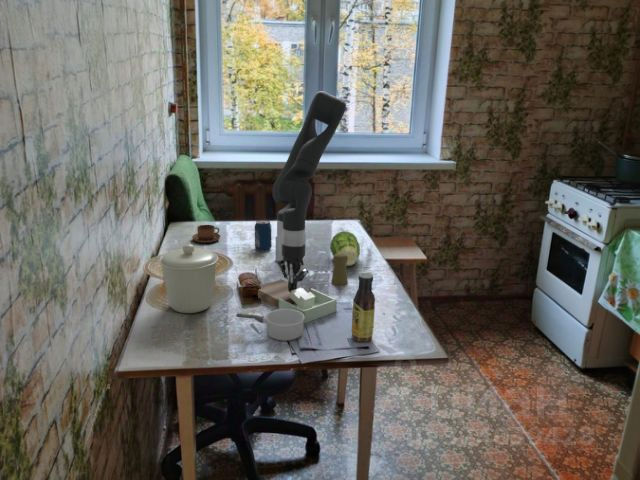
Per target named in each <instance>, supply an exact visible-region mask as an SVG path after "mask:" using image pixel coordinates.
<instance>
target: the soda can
mask: <svg viewBox="0 0 640 480" xmlns="http://www.w3.org/2000/svg"><path fill="white" fill-rule="evenodd" d="M254 248H255V249H256V251H258V252H268V251H270V250H271V248H272V224H271V221H270V220H268V219H259V220H257V221H256V222H255V224H254Z"/></svg>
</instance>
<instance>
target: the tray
mask: <svg viewBox="0 0 640 480" xmlns="http://www.w3.org/2000/svg"><path fill="white" fill-rule="evenodd" d="M309 292H311V293H312V294H313V295H314V296H316V297H315V300H314V304H313V307H312V308H309V309H306V310H302V309H300V308H298V307H297V304H296V303H295V304H290V303H288V302H286V301H284V300H282V299H279V309H293V310H297V311H300V312H301V313H303V314H304V316H305V319H304V320H303V325H304V324H306V323H309V322H312V321H314V320H317V319H321V318H323V317H325V316H328V315H330V314H333V313H337V309H338V308H337V307H338V306H337V304H338V303H337V302H338V301H337V300H338V299H336V298H334V297H332V296H329V295H328V294H325V293H322V292H321V291H319V290H317V289H314V288H310V290H309Z"/></svg>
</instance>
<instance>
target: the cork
mask: <svg viewBox="0 0 640 480" xmlns="http://www.w3.org/2000/svg"><path fill="white" fill-rule="evenodd" d="M332 260H333V262H334V264H333V270H332V275H331V281H330V283H331V284H332V285H333V286H336V287H337V286H338V287H341V286H342V287H343V286H346V285H348V283H349V281H348V271H347V266H346V263H347V261H348V257H347V255H346V254H344V253H337V254H335V255H334V256H332Z"/></svg>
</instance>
